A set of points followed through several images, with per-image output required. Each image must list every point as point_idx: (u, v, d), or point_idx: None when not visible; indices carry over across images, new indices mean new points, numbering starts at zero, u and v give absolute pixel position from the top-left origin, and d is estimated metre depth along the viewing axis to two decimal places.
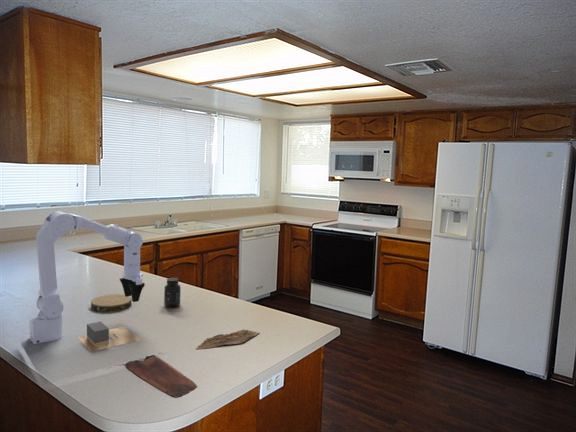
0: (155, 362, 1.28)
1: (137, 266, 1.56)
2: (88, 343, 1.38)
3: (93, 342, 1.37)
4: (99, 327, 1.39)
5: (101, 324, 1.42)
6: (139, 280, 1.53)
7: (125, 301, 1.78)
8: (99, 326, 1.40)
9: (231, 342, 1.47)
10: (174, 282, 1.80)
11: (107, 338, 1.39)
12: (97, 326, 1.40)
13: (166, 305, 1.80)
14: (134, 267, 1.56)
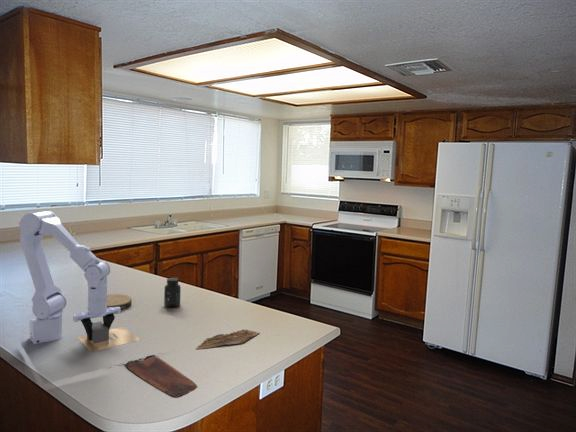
0: (155, 362, 1.28)
1: (90, 302, 1.37)
2: (88, 343, 1.38)
3: (93, 342, 1.37)
4: (99, 327, 1.39)
5: (101, 324, 1.42)
6: (74, 316, 1.35)
7: (125, 301, 1.78)
8: (99, 326, 1.40)
9: (231, 342, 1.47)
10: (174, 282, 1.80)
11: (107, 338, 1.39)
12: (97, 326, 1.40)
13: (166, 305, 1.80)
14: (88, 302, 1.37)
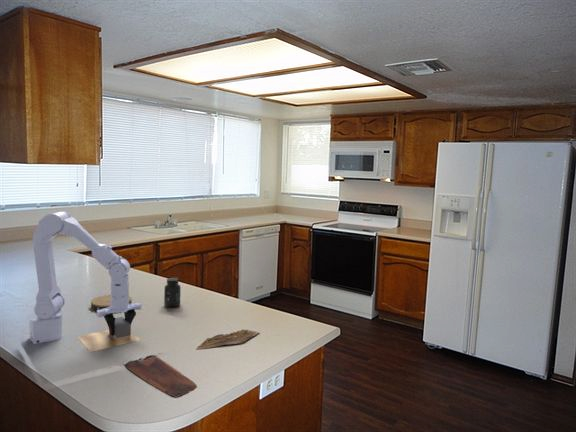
0: (154, 362, 1.28)
1: (113, 298, 1.41)
2: (88, 343, 1.38)
3: (116, 337, 1.42)
4: (122, 323, 1.44)
5: (123, 319, 1.47)
6: (97, 312, 1.39)
7: None
8: (121, 322, 1.44)
9: (231, 342, 1.47)
10: (174, 282, 1.80)
11: (129, 334, 1.44)
12: (119, 321, 1.45)
13: (166, 305, 1.80)
14: (111, 298, 1.42)
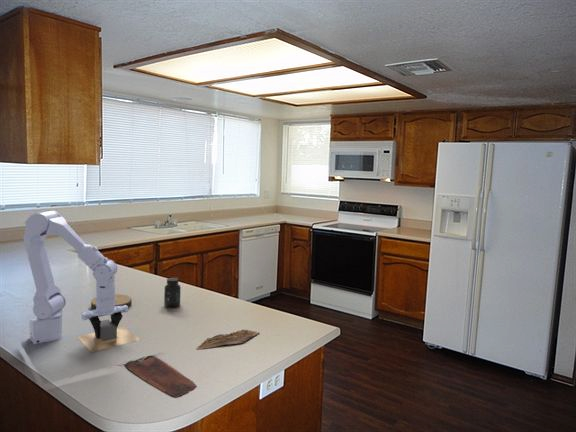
0: (154, 362, 1.28)
1: (98, 301, 1.38)
2: (88, 343, 1.38)
3: (101, 340, 1.39)
4: (107, 326, 1.40)
5: (109, 322, 1.43)
6: (82, 315, 1.36)
7: (125, 301, 1.78)
8: (107, 324, 1.41)
9: (231, 342, 1.47)
10: (174, 282, 1.80)
11: (115, 337, 1.40)
12: (105, 324, 1.42)
13: (166, 305, 1.80)
14: (96, 300, 1.39)
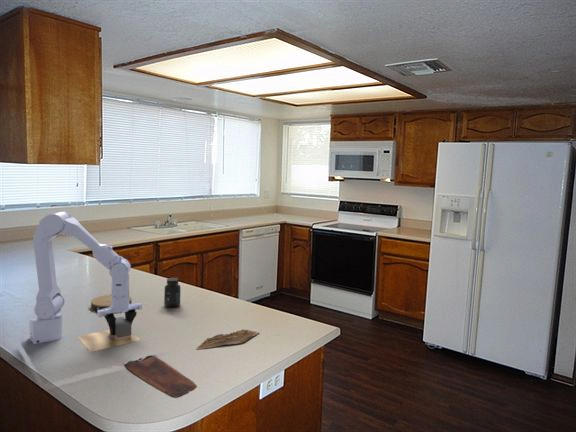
0: (154, 362, 1.28)
1: (113, 298, 1.42)
2: (88, 343, 1.38)
3: (116, 336, 1.42)
4: (122, 323, 1.44)
5: (123, 319, 1.47)
6: (98, 312, 1.40)
7: None
8: (121, 321, 1.45)
9: (231, 342, 1.47)
10: (174, 282, 1.80)
11: (130, 333, 1.44)
12: (119, 321, 1.45)
13: (166, 305, 1.80)
14: (111, 298, 1.42)
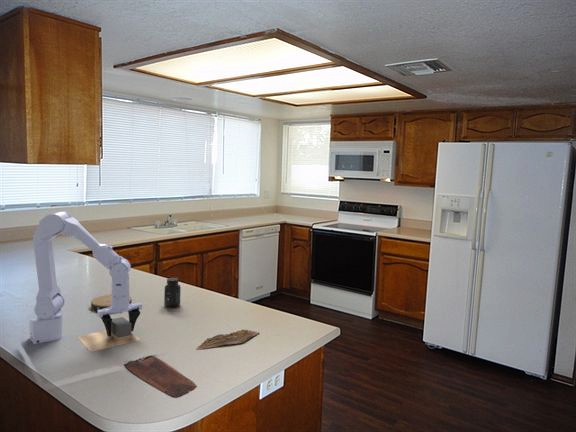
0: (154, 362, 1.28)
1: (113, 298, 1.42)
2: (88, 343, 1.38)
3: (116, 337, 1.42)
4: (122, 323, 1.44)
5: (123, 319, 1.47)
6: (98, 312, 1.40)
7: None
8: (121, 322, 1.45)
9: (231, 342, 1.47)
10: (174, 282, 1.80)
11: (130, 333, 1.44)
12: (119, 321, 1.45)
13: (166, 305, 1.80)
14: (112, 298, 1.42)
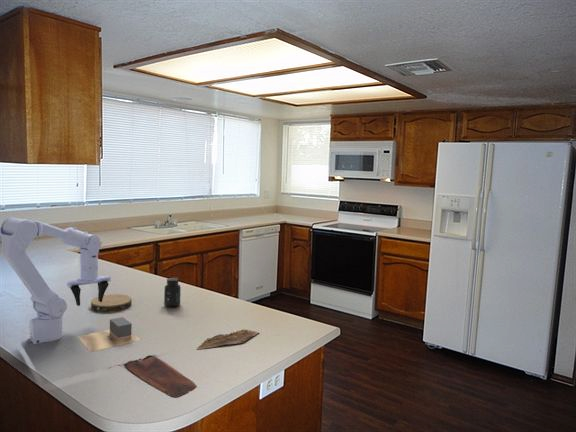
0: (154, 362, 1.28)
1: (82, 270, 1.50)
2: (88, 343, 1.38)
3: (116, 337, 1.42)
4: (122, 323, 1.44)
5: (123, 319, 1.47)
6: (67, 282, 1.48)
7: (125, 301, 1.78)
8: (121, 322, 1.45)
9: (231, 342, 1.47)
10: (174, 282, 1.80)
11: (130, 333, 1.44)
12: (119, 321, 1.45)
13: (166, 305, 1.80)
14: None
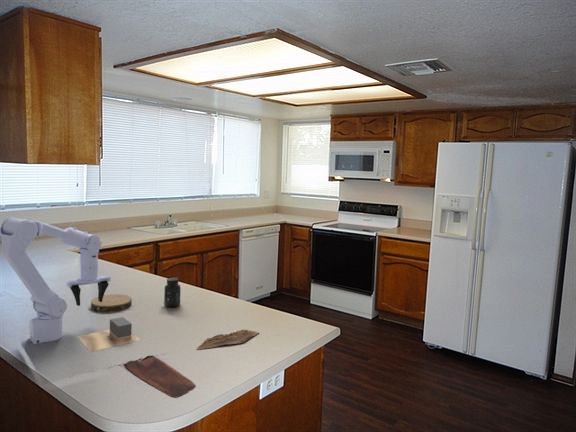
0: (154, 362, 1.28)
1: (82, 270, 1.50)
2: (88, 343, 1.38)
3: (116, 337, 1.42)
4: (122, 323, 1.44)
5: (123, 319, 1.47)
6: (67, 282, 1.48)
7: (125, 301, 1.78)
8: (121, 322, 1.45)
9: (231, 342, 1.47)
10: (174, 282, 1.80)
11: (130, 333, 1.44)
12: (119, 321, 1.45)
13: (166, 305, 1.80)
14: None
